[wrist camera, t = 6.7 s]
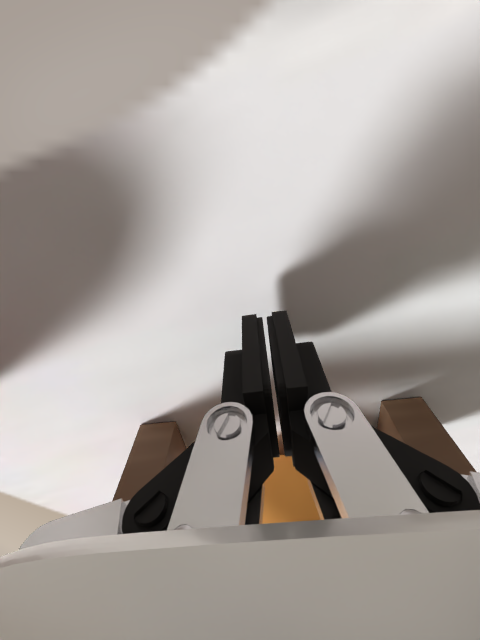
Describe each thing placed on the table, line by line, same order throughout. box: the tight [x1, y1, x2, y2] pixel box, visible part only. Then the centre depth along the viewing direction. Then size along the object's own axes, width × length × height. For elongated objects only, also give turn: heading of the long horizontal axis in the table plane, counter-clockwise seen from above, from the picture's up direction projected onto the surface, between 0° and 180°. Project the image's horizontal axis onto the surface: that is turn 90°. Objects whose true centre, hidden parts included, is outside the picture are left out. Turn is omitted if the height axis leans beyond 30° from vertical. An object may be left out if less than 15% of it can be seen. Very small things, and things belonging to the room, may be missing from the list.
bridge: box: [113, 397, 476, 502], centre depth 12 cm, size 3×15×10 cm, turn 98°
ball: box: [262, 455, 321, 524], centre depth 15 cm, size 6×6×6 cm
